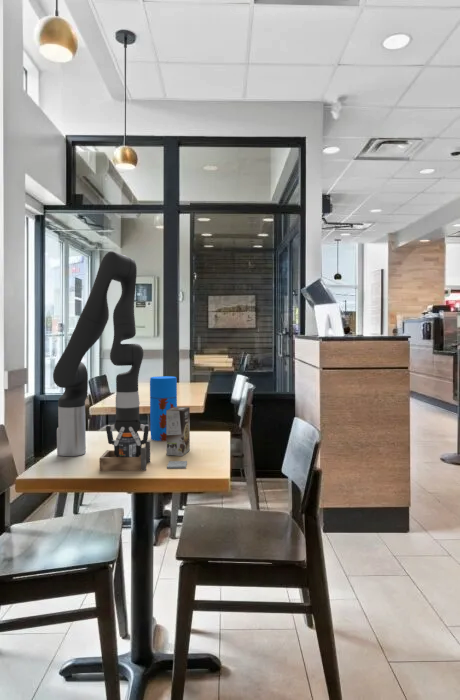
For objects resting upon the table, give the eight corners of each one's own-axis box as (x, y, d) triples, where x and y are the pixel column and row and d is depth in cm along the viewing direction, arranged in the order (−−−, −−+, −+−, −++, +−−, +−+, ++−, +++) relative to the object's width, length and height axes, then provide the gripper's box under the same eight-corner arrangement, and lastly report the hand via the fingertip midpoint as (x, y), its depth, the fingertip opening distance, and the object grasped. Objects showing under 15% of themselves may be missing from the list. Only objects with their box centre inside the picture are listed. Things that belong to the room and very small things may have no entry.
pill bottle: (115, 466, 172) (114, 431, 171) (130, 462, 176) (130, 429, 175) (125, 469, 167) (125, 434, 167) (141, 466, 171) (140, 431, 171)
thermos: (153, 435, 221) (152, 376, 220) (178, 435, 221) (178, 376, 220) (148, 441, 210) (147, 378, 209) (174, 441, 210) (174, 378, 209)
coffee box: (183, 456, 185) (183, 410, 184) (165, 455, 186) (165, 410, 185) (190, 450, 194) (190, 406, 193) (173, 449, 195) (173, 406, 194)
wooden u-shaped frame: (99, 470, 166) (99, 448, 166) (107, 462, 177) (106, 441, 177) (145, 470, 166) (145, 448, 166) (150, 461, 177) (150, 441, 177)
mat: (167, 468, 168) (167, 466, 168) (169, 462, 175) (169, 461, 175) (185, 468, 168) (185, 466, 168) (187, 462, 175) (187, 461, 175)
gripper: (102, 407, 167) (103, 459, 167) (148, 406, 167) (148, 459, 168) (107, 403, 174) (108, 454, 175) (151, 403, 175) (151, 453, 175)
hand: (128, 456), depth 171 cm, fingers closed on pill bottle, 6 cm apart
